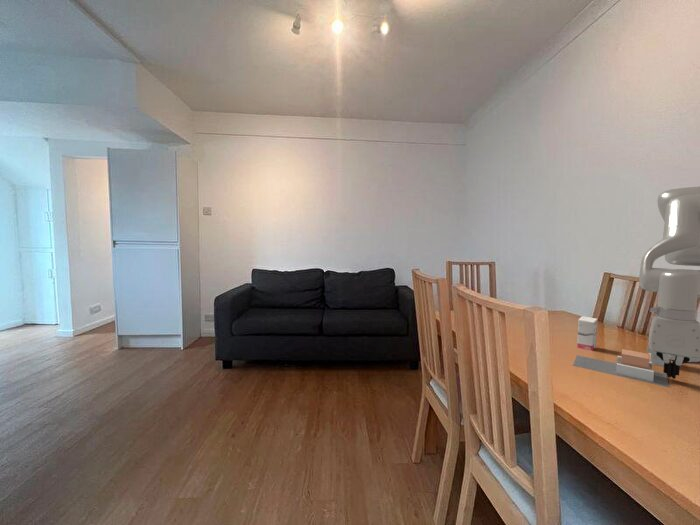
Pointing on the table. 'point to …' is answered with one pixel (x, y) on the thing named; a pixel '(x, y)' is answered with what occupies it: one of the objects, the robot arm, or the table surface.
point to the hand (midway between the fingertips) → (670, 376)
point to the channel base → (623, 370)
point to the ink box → (587, 333)
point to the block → (635, 359)
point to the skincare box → (655, 360)
